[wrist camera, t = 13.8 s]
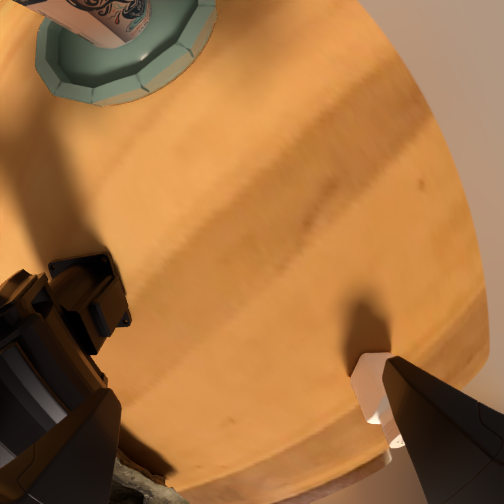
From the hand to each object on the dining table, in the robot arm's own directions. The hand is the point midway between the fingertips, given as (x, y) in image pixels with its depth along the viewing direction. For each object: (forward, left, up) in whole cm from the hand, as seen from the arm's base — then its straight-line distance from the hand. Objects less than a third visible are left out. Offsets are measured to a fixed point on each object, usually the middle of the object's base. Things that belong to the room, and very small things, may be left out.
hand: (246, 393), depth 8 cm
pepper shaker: (+11, -14, -13) cm, 22 cm away
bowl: (-6, +18, -13) cm, 23 cm away
